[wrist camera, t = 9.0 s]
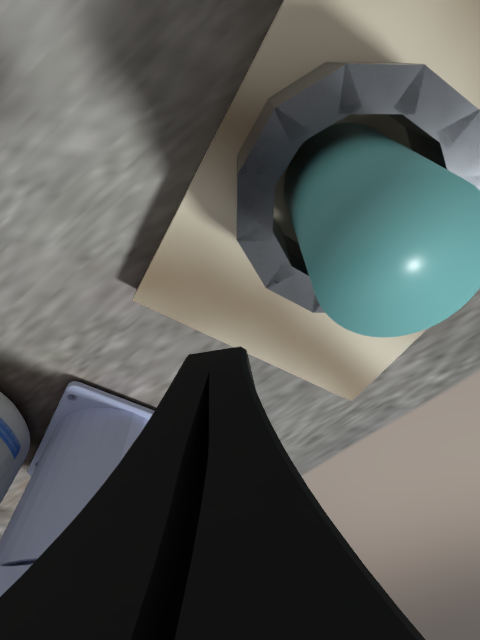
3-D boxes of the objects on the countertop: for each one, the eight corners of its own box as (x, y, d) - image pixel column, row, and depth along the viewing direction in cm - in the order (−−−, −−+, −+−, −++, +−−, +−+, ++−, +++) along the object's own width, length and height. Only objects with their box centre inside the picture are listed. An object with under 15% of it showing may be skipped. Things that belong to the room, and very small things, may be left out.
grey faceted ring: (353, 304, 18) (371, 343, 16) (200, 220, 16) (194, 250, 14) (493, 145, 15) (545, 164, 12) (319, 5, 12) (339, -8, 10)
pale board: (347, 388, 23) (351, 401, 22) (136, 289, 19) (132, 300, 18) (613, 124, 15) (635, 128, 14) (348, -127, 11) (356, -141, 11)
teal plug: (348, 256, 17) (406, 360, 11) (262, 205, 16) (276, 293, 10) (422, 163, 15) (539, 233, 9) (329, 96, 14) (396, 129, 8)
